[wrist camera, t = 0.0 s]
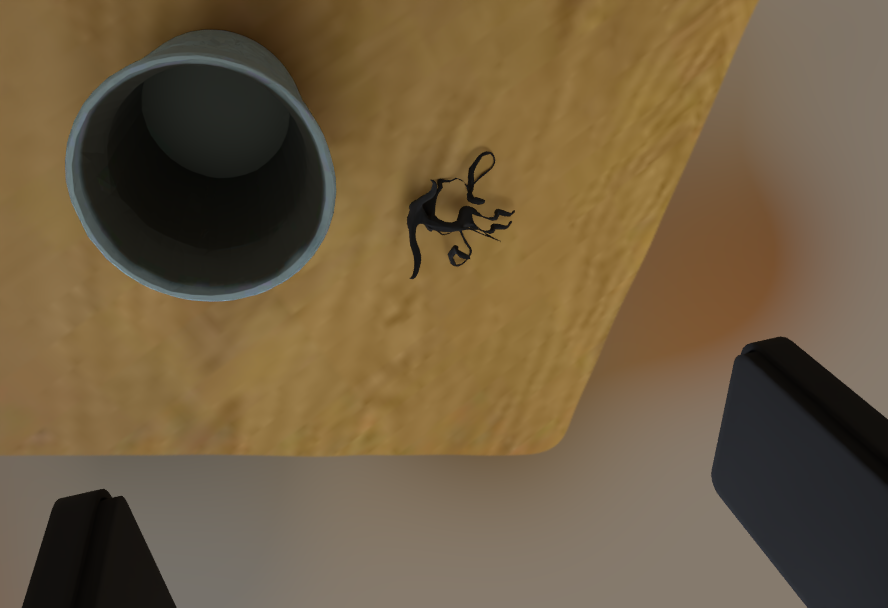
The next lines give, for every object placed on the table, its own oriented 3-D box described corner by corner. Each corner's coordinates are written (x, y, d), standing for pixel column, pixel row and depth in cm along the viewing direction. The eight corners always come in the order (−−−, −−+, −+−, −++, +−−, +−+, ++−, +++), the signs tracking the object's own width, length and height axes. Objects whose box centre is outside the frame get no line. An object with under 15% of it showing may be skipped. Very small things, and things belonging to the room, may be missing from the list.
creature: (515, 148, 43) (403, 139, 39) (564, 179, 39) (445, 173, 35) (485, 257, 47) (380, 259, 43) (527, 296, 43) (416, 302, 39)
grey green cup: (257, 226, 40) (262, 336, 30) (81, 140, 35) (18, 237, 25) (346, 79, 37) (384, 147, 27) (166, -37, 32) (133, -6, 22)
